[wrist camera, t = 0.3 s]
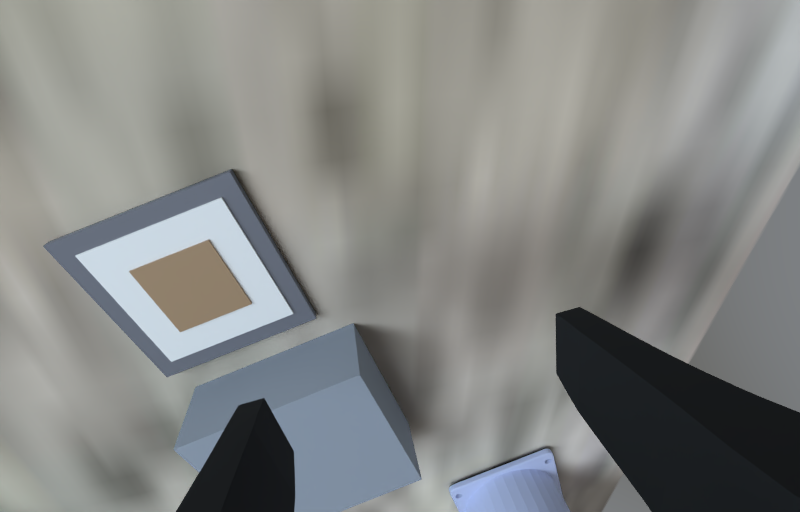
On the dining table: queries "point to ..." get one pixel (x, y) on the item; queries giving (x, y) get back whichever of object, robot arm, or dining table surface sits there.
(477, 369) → the dining table surface
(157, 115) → the dining table surface
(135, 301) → the card
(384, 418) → the slate base block
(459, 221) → the dining table surface
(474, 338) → the dining table surface
